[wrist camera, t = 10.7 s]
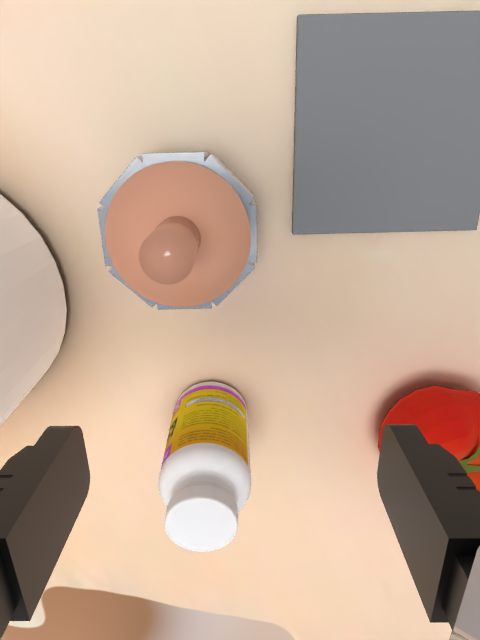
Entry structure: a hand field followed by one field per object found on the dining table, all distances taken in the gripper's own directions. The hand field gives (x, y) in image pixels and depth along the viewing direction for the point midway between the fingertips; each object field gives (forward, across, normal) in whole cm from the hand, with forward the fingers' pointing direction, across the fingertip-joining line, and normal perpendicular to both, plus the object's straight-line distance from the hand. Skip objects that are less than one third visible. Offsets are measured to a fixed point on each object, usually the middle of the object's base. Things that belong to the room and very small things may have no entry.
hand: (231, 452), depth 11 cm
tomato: (+25, -17, +16) cm, 34 cm away
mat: (+24, -11, -8) cm, 28 cm away
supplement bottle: (+24, +3, +14) cm, 28 cm away
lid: (+18, +4, -2) cm, 19 cm away
